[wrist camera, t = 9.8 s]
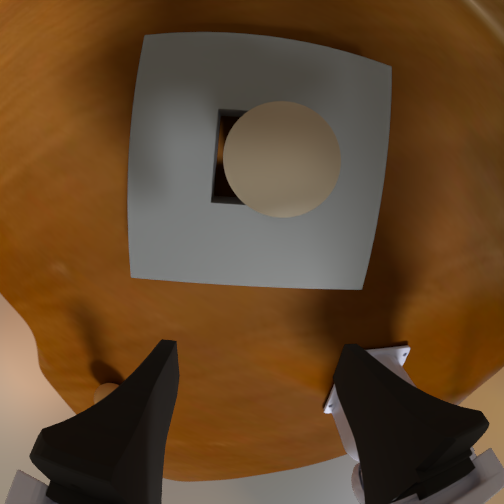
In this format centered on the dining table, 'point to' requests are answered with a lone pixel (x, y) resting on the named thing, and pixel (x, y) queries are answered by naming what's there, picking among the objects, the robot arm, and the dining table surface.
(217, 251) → the socket block
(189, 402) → the dining table surface
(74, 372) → the dining table surface
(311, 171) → the birch dowel
